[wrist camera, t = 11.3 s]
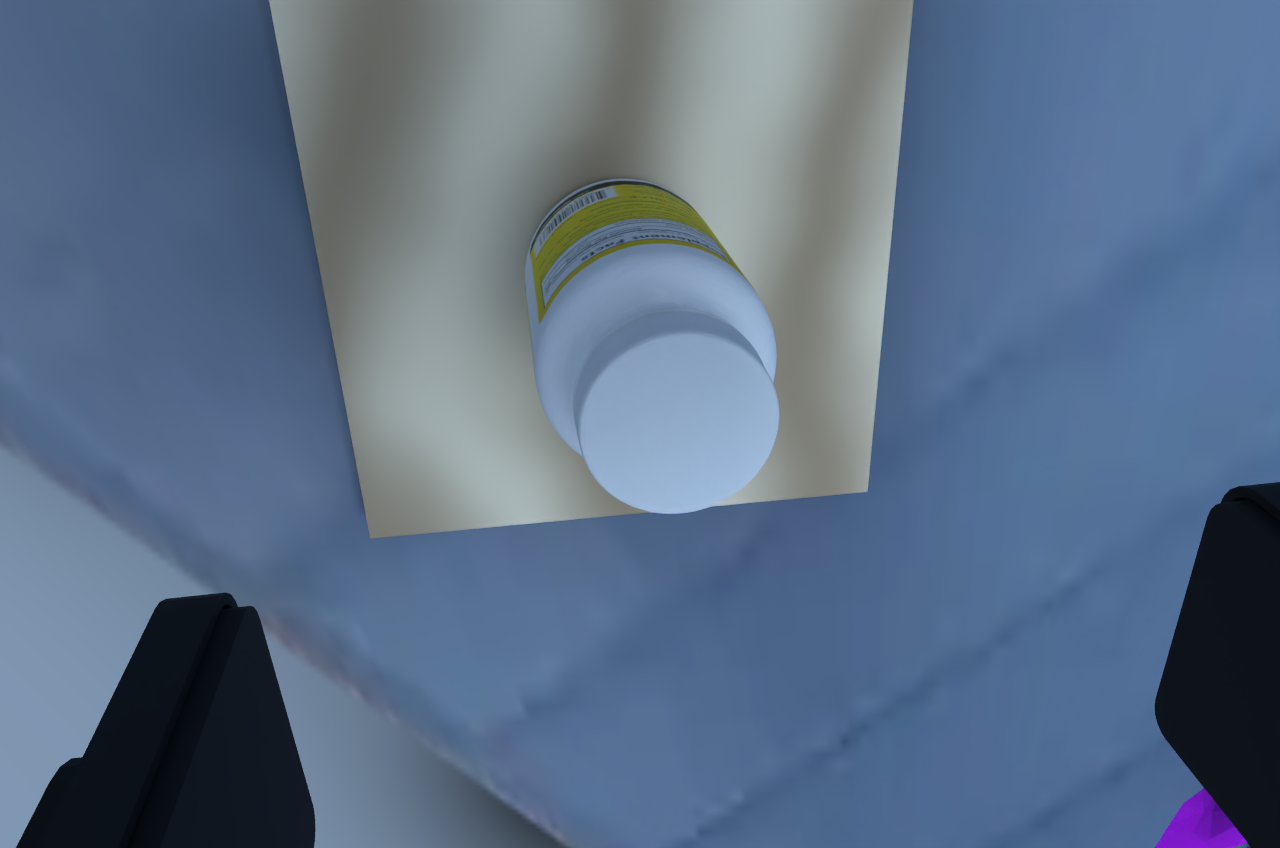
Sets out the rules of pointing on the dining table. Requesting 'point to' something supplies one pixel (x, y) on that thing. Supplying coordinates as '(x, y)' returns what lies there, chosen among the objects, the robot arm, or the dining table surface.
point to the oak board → (553, 169)
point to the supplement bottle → (650, 347)
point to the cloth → (1200, 826)
